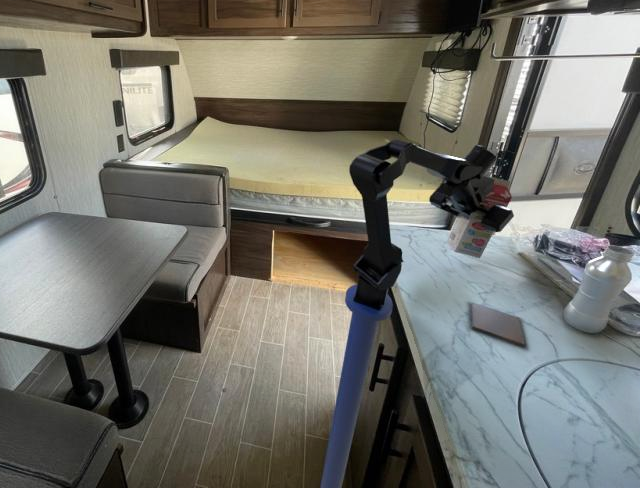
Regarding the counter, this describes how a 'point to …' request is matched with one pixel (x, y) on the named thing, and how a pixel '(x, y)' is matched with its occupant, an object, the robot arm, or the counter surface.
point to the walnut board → (497, 324)
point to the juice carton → (477, 223)
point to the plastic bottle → (599, 290)
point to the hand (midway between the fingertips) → (475, 222)
